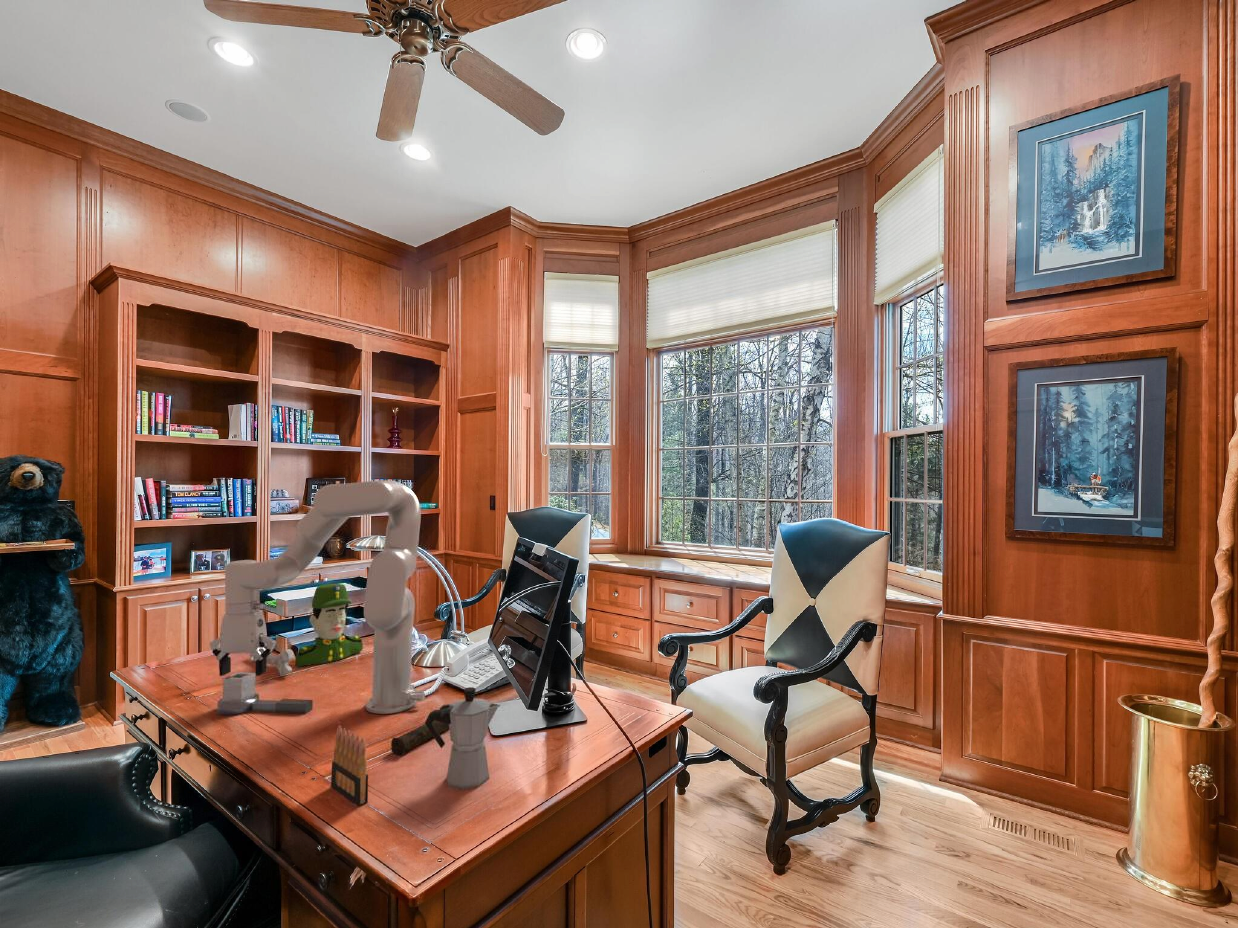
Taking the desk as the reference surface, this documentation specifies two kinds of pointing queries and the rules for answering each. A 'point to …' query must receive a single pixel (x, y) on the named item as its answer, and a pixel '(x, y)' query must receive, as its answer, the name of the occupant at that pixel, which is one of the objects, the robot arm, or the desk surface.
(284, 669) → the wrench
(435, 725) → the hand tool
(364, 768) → the ammunition clip
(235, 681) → the socket
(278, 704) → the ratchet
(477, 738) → the coffee maker
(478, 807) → the desk surface
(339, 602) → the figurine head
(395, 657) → the robot arm
